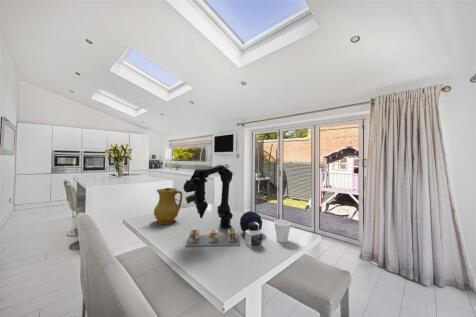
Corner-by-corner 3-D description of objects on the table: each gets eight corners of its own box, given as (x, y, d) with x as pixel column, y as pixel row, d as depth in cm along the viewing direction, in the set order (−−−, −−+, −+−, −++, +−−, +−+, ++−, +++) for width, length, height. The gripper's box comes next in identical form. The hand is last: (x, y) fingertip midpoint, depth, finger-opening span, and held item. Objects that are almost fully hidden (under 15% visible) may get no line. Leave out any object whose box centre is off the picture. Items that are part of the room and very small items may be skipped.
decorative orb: (267, 223, 128) (254, 204, 131) (265, 231, 114) (250, 210, 116) (251, 234, 131) (238, 215, 134) (246, 243, 117) (232, 222, 119)
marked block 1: (199, 238, 114) (199, 229, 114) (198, 242, 109) (198, 233, 109) (190, 238, 113) (190, 229, 113) (189, 242, 108) (189, 233, 108)
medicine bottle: (251, 248, 104) (251, 226, 104) (244, 242, 110) (245, 222, 110) (261, 245, 107) (262, 224, 107) (255, 240, 114) (255, 220, 113)
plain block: (217, 237, 115) (218, 229, 115) (217, 241, 110) (217, 232, 110) (209, 238, 114) (209, 229, 114) (208, 241, 109) (209, 233, 109)
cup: (291, 238, 117) (291, 220, 117) (290, 245, 108) (290, 226, 108) (274, 236, 120) (275, 218, 120) (272, 242, 111) (272, 224, 111)
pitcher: (161, 216, 153) (162, 185, 152) (183, 219, 150) (185, 188, 149) (148, 224, 136) (149, 190, 135) (172, 228, 133) (174, 192, 132)
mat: (237, 235, 120) (237, 234, 120) (240, 245, 106) (240, 244, 106) (189, 236, 118) (189, 235, 118) (185, 246, 104) (185, 245, 104)
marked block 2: (236, 237, 116) (236, 229, 116) (236, 241, 111) (237, 232, 111) (227, 237, 115) (228, 229, 115) (228, 241, 110) (228, 232, 110)
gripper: (185, 188, 121) (185, 212, 121) (187, 193, 104) (187, 222, 104) (202, 187, 125) (202, 210, 125) (208, 192, 107) (207, 220, 108)
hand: (199, 215), depth 115 cm, fingers open, 9 cm apart
